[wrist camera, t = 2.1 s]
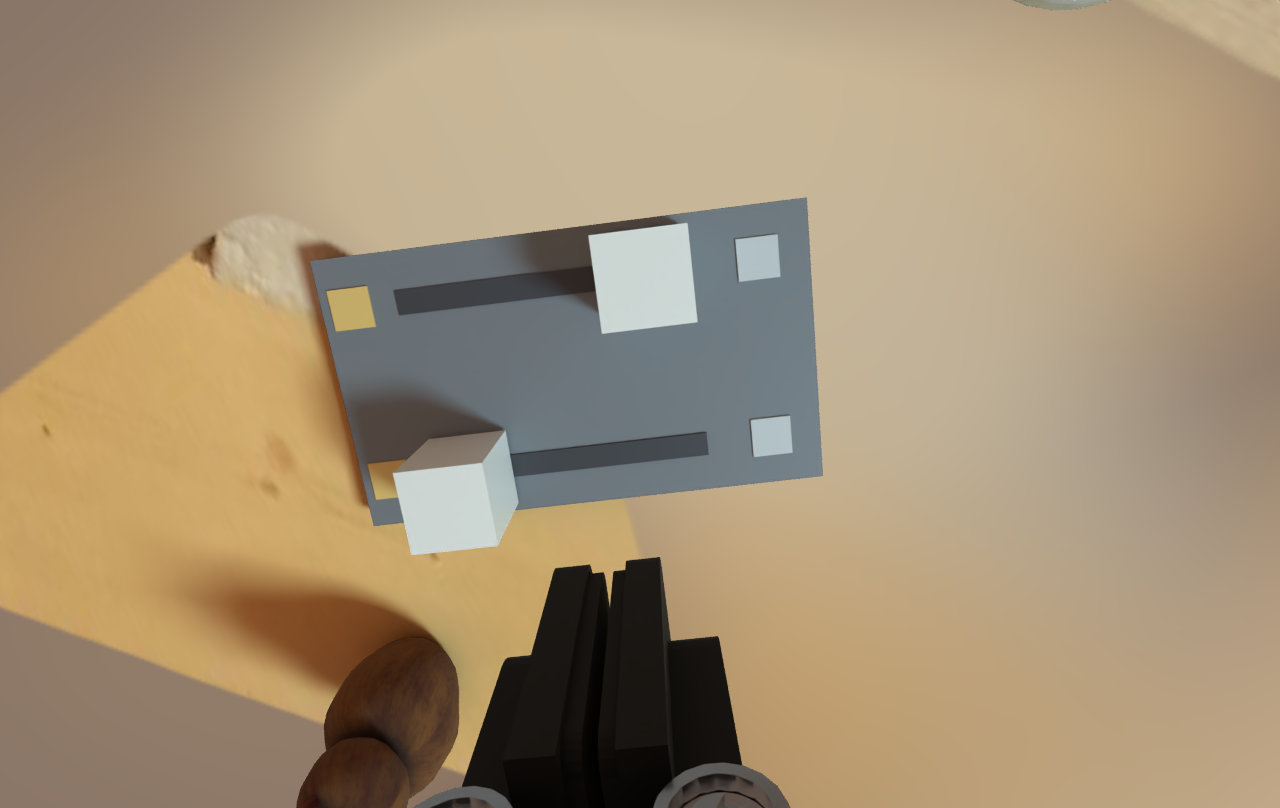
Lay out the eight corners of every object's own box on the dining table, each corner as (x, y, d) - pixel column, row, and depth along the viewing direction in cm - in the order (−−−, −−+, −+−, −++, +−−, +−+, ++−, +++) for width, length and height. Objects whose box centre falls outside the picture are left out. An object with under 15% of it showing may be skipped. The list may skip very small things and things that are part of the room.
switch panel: (799, 199, 32) (807, 197, 31) (815, 466, 36) (823, 476, 34) (324, 259, 33) (308, 261, 32) (384, 514, 37) (373, 526, 35)
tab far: (505, 430, 34) (482, 463, 29) (518, 502, 35) (497, 545, 30) (428, 439, 34) (392, 473, 29) (444, 510, 35) (411, 555, 30)
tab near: (681, 224, 31) (687, 222, 26) (689, 308, 32) (697, 322, 27) (597, 235, 31) (588, 235, 26) (608, 319, 32) (602, 333, 27)
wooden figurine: (356, 630, 39) (181, 867, 24) (449, 609, 38) (330, 838, 24) (394, 725, 40) (252, 1001, 26) (484, 706, 40) (391, 976, 25)
